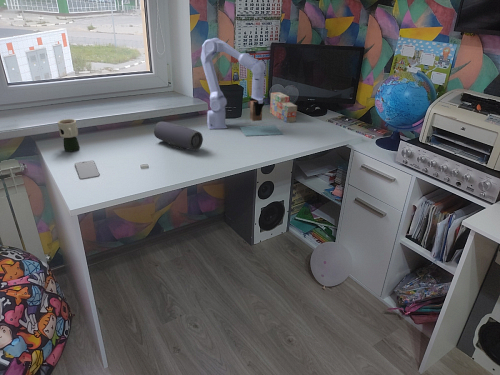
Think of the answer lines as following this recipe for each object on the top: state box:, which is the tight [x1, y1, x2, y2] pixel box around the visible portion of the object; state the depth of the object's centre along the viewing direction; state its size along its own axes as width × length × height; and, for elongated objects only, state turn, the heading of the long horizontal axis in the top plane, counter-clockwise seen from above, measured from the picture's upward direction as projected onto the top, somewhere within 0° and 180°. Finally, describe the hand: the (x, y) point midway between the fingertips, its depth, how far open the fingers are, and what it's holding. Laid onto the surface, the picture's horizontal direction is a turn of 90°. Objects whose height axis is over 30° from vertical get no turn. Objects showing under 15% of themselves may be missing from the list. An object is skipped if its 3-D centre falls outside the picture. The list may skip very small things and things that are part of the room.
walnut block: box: [249, 100, 263, 122], centre depth 192 cm, size 5×5×9 cm
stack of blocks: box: [269, 91, 298, 123], centre depth 219 cm, size 21×6×12 cm, turn 24°
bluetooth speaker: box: [153, 121, 204, 151], centre depth 172 cm, size 23×9×10 cm, turn 56°
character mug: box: [57, 118, 81, 152], centre depth 162 cm, size 11×7×13 cm, turn 33°
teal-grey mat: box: [239, 124, 284, 137], centre depth 198 cm, size 20×14×1 cm
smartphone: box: [74, 160, 101, 180], centre depth 147 cm, size 7×1×15 cm
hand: (256, 113), depth 193 cm, fingers closed on walnut block, 5 cm apart
